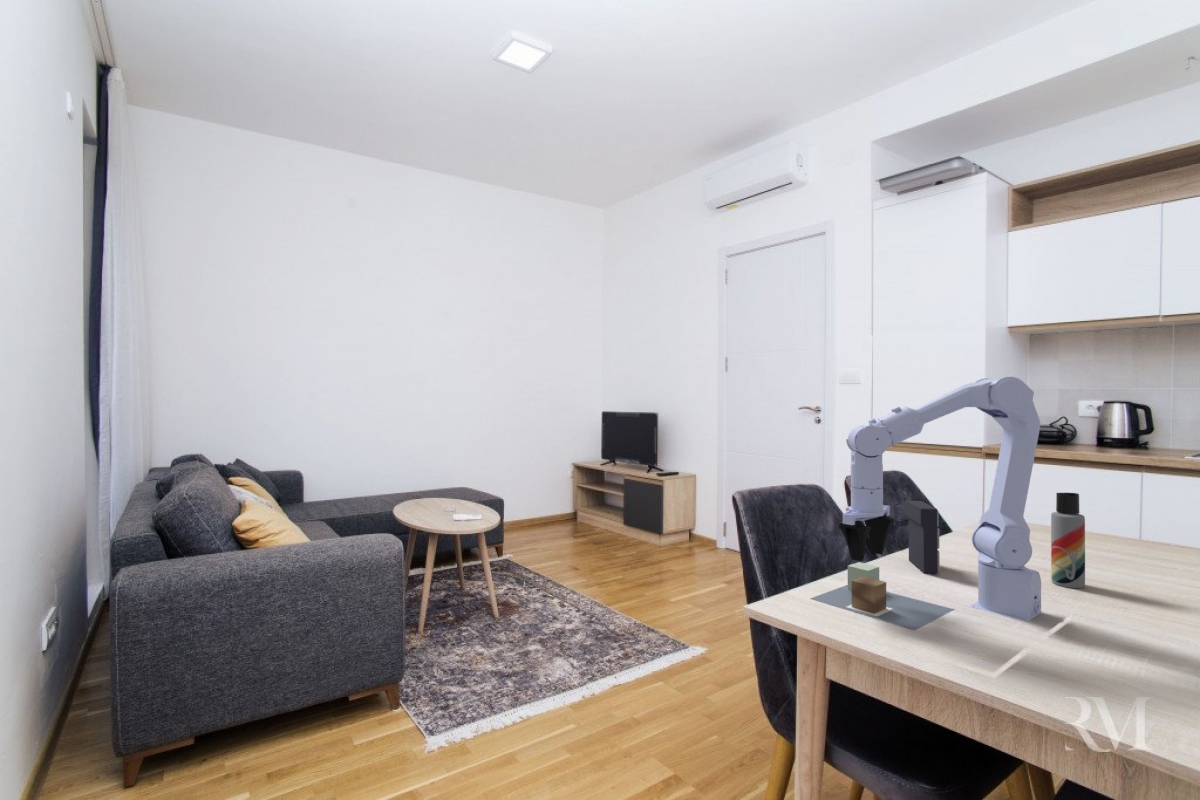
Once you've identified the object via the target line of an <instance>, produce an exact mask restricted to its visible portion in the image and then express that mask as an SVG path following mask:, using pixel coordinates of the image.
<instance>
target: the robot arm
mask: <svg viewBox="0 0 1200 800" xmlns="http://www.w3.org/2000/svg"><path fill="white" fill-rule="evenodd" d="M1034 394H1035V393H1034V390H1033V389H1031V388H1030V386H1028V385H1027V384H1026V383H1025V382H1024V381H1023V380H1022V379H1020V378H1018V377H1016V376H1004V377H997V378H989V377H988V378H986V377H985V378H980V379H978V380H976V381H975V382H969V383H966V384H963V385H961V386H959V387H957V388H954V389H953V390H951V391H949V392H947V393H944V394H942V395H941V396H939V397H937V398H935V399H933V400H931V401H928V402H926V403H924V404H923V405H921V406H919V407H917V408H911V407H908V406H904V407H900V406H896V407H893V408H891V409H890V410H891V412H890V413H888V414H885V415H883V416H881V417H879V418H877V419H876V418H871V419H869V420H868V425H858V426H856V427H854V428H853V429H851V430H850V432H849V433H848V436H847V438H846V439H845V441H846V445H847V447H848V448H849V449H850V456H851V457H850V506H845V511H846V512H844V513H842V520H840V521H839V522H838V528H839V529H840V531H841V532H842V534H843V537H844V539H845V541H846V544H847V549H848V552H849V555H850V559H851V560H852V561H858V562H863V561H864V560H865V556H866V544H867V539H868V544H869V545H868V546H869V549H870V550H869V551H870V553H871V554H877V555H880V556H881V555H883V554H884V551H885V547H886V543H887V540H888V536H889V533H890V531H891V529H892V527H894V524H895V522H896V521H895V518H894V517H890V514H891V513H890V511H891V510H890V509H891V507H890V505H885V504H884V465H883V454H884V453H885V452H886V450H887V448H890V447H892V446H894V445H897V444H899V443H901V442H903V441H906V440H908V439H910V438H913V437H914V436H917V435H919V434H921V432H922V430H923V428H924V425H925V424H927V423H929V422H932V421H936V420H937V419H939V418H943V417H945V416H948V415H949V414H952V413H955V412H957V411H960V410H963V409H964V408H965V409H966V408H976V409H978V410H980V411H981V412H983V413H985V414H986V415H988V416H990V417H992V419H994V421H996V422H997V424H998V425H999V426H1000V427H1001V428H1002V429H1003V433H1002V438H1001V443H1000V449H999V454H998V459H997V465H996V469H995V475H994V476H995V477H994V480H993V486H992V492H991V497H990V502H989V507H988V509H987V510H986V511H985V512H984V513H983V514H982V515H981V516H980V519H979V524H978V525H977V526H976V528H974V530H973V532H972V534H971V542H972V546H973V547H974V548H975V550H976V551H977V552H978V558H977V563H978V564H977V572H978V573H977V578H978V579H977V580H978V581H977V582H978V583H977V591H978V593H977V594H978V596H977V597H978V598H977V601H976V602H974V603H972V604H970V605H969V607H970V608H975V609H978V610H981V611H985V612H989V613H994V614H998V615H1001V616H1004V617H1005V616H1006V617H1009V618H1012V619H1013V618H1014V619H1017V620H1020V621H1025V622H1030V621H1031V620H1033V619H1034V618H1036V617H1038V615H1040V614H1041V613H1042V614H1043V611H1042V578H1041V574H1040V572H1039V571H1038V570H1035V569H1031V568H1028V567H1026V566H1025V565H1026V564H1027V563H1029V562H1030V560H1031V558H1032V555H1033V547H1032V544H1031V541H1030V535H1031V529H1030V526H1029V525H1028V523H1027V522H1026V519H1025V517H1024V514H1025V508H1026V504H1027V503H1026V502H1027V499H1028V492H1029V489H1030V488H1029V487H1030V482H1031V476H1032V473H1033V466H1034V460H1035V455H1036V451H1037V446H1038V440H1039V437H1040V436H1039V435H1040V429H1041V420H1040V417H1039V415H1038V412H1037V409H1036V406H1035V403H1034V401H1033V400H1034ZM862 522H864V523H862ZM863 524H865V525H863Z"/></svg>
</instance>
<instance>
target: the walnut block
mask: <svg viewBox="0 0 1200 800" xmlns="http://www.w3.org/2000/svg"><path fill="white" fill-rule="evenodd" d="M886 592H887V581H884V580H880V579H879V580H876V579H872V578H868V577H864V576H863V577H861V578H858V579H855V580H852V607H853V608H857V609H860V610H863V611H867V612H870V613H873V614H875V613H877V612H880V611H882V610H884V609H886Z"/></svg>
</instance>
